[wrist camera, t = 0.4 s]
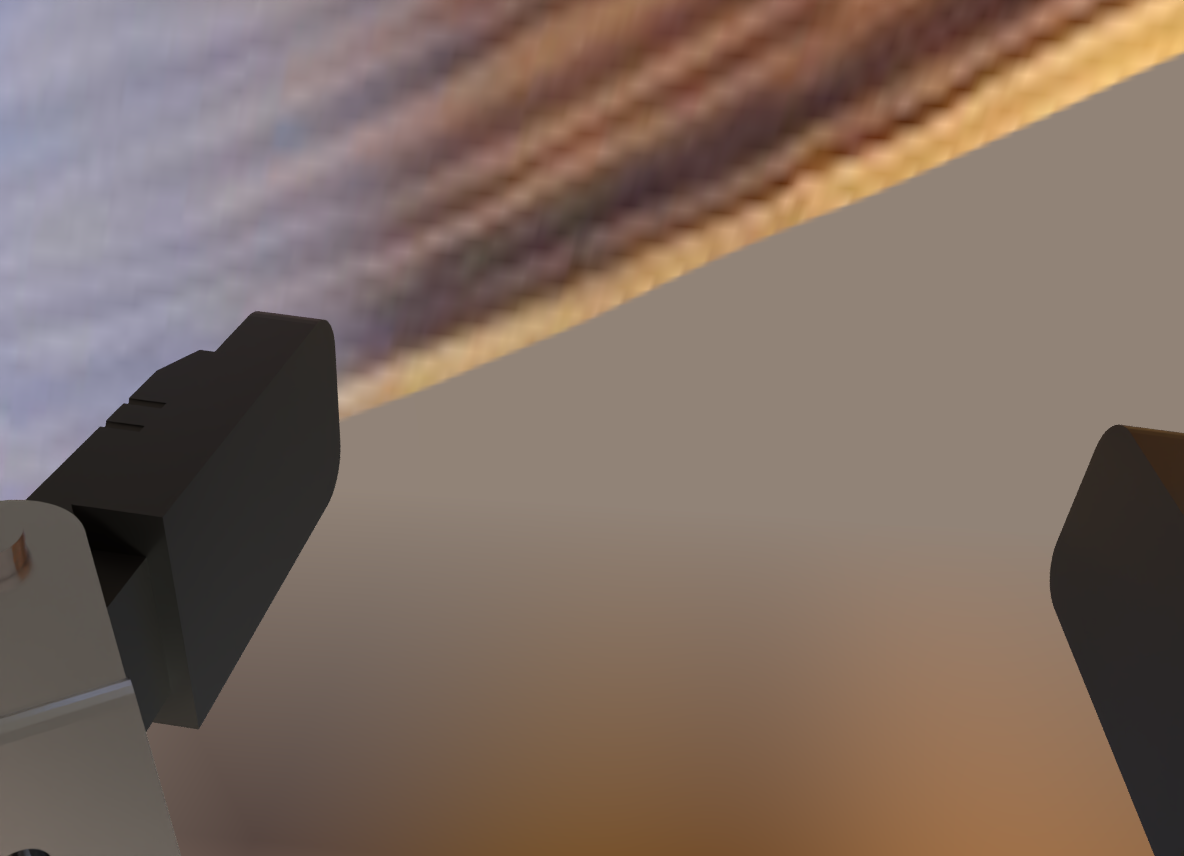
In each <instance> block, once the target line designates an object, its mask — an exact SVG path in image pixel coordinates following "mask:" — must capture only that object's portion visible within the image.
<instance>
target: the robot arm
mask: <svg viewBox="0 0 1184 856" xmlns="http://www.w3.org/2000/svg"><path fill="white" fill-rule="evenodd" d="M339 463H340V429H339V410H338V391H337V372H336V354H335V340H334V334H333V331H332V328H331V325H330V324H329V322H328V321H326V320H322V319H314V318H307V317H299V316H291V315H283V314H276V313H268V312H260V311H255V312H253V313H252V314H250V315H249V316H248V317H247V318H246V319H245V320H244V321H243V322H242V324H241V325H240V326H239V327H238V328H237V329H236V330H235V331H234V332H233V333H232V334H231V335H230V336H229V337H228V338H227V339H226V341H225V342H224V343H223V344H222V345H221V346H220V347H219V348H218V349H217V350H216V351H215V352H212V351H204V350H199V351H197V352H194V353H192V354H190V355H188V356H186V357H184V358H182V359H180V360H178V361H176V362H174V363H172V364H170V365H168V366H166V367H163V368H161V369H159V370H157V371H156V372H155V373H154V374H153V375H152V376H151V377H150V378H149V379H148V380H147V381H146V382H145V383H144V384H143V385H142V386H141V387H140V388H139V389H138V390H137V391H136V392H135V393H134V394H133V395H132V396H131V397H130V398H129V403H128V404H123V405H122V406H120V407H119V408H118V409H117V410H116V411H115V412H114V413H113V414H112V415H111V416H110V417H109V418H108V419H107V420H106V426H105V427H99V428H98V429H97V430H96V431H95V432H94V433H93V434H92V435H91V436H90V437H89V438H88V439H87V440H86V441H85V442H84V443H83V444H82V445H81V446H80V447H79V448H78V449H77V450H76V451H75V452H74V453H73V454H72V455H71V456H70V457H69V458H68V459H67V460H66V461H65V462H64V463H63V464H62V465H61V466H60V467H59V468H58V469H57V470H56V471H55V472H54V473H53V474H52V475H51V476H50V477H49V478H48V479H46V480H45V481H44V482H43V483H42V484H41V485H40V486H39V487H38V488H37V489H36V490H35V491H34V492H33V493H32V494H31V495H30V496H29V497H28V498H27V499H26V500H5V501H0V856H181V854H180V851H179V847H178V844H177V840H176V837H175V833H174V830H173V826H172V823H171V819H170V815H169V812H168V808H167V805H166V802H165V798H164V794H163V791H162V787H161V784H160V780H159V777H158V773H157V770H156V766H155V763H154V759H153V756H152V752H151V748H150V745H149V741H148V738H147V734H146V732H147V729H148V728H149V727H150V725H151V724H152V722H155V723H161V724H168V725H174V726H181V727H187V728H194V729H199V728H200V726H201V725H202V723H203V721H204V719H205V718H206V716H207V714H208V712H209V710H210V709H211V707H212V705H213V704H214V702H215V700H216V698H217V697H218V695H219V693H220V691H221V690H222V687H223V686H224V685H225V683H226V681H227V679H228V677H229V676H230V674H231V672H232V670H233V669H234V667H235V665H236V664H237V662H238V660H239V658H240V657H241V655H242V653H243V651H244V650H245V648H246V646H247V644H248V643H249V641H250V639H251V638H252V636H253V634H254V632H255V631H256V628H257V627H258V625H259V623H260V622H261V620H262V618H263V617H264V615H265V613H266V611H267V610H268V608H269V606H270V604H271V603H272V601H273V599H274V597H275V596H276V594H277V592H278V591H279V589H280V587H281V585H282V583H283V582H284V580H285V578H286V577H287V575H288V573H289V571H290V570H291V568H292V566H293V564H294V563H295V561H296V559H297V557H298V556H299V554H300V552H301V550H302V549H303V547H304V545H305V544H306V542H307V540H308V538H309V536H310V535H311V533H312V531H313V530H314V528H315V526H316V524H317V522H318V521H319V519H320V517H321V516H322V514H323V512H324V510H325V509H326V507H327V505H328V503H329V501H330V499H331V497H332V494H333V491H334V488H335V484H336V480H337V475H338V470H339ZM1050 592H1051V598H1052V603H1053V606H1054V609H1055V611H1056V614H1057V616H1058V619H1059V621H1060V624H1061V626H1062V629H1063V631H1064V633H1065V636H1066V638H1067V641H1068V643H1069V646H1070V648H1071V651H1072V653H1073V656H1074V658H1075V661H1076V663H1077V665H1078V668H1079V670H1080V673H1081V675H1082V678H1083V680H1084V683H1085V685H1086V688H1087V690H1088V693H1089V695H1090V698H1091V700H1092V703H1093V705H1094V707H1095V710H1096V712H1097V715H1098V717H1099V720H1100V722H1101V725H1102V727H1103V730H1104V732H1105V735H1106V737H1107V739H1108V742H1109V744H1110V747H1111V749H1112V752H1113V754H1114V757H1115V759H1116V762H1117V764H1118V767H1119V769H1120V771H1121V774H1122V776H1123V779H1124V781H1125V784H1126V786H1127V789H1128V791H1129V794H1130V796H1131V799H1132V801H1133V804H1134V806H1135V809H1136V811H1137V813H1138V816H1139V818H1140V821H1141V823H1142V826H1143V828H1144V831H1145V833H1146V836H1147V838H1148V841H1149V843H1150V845H1151V848H1152V850H1153V853H1154V855H1155V856H1184V433H1179V432H1171V431H1164V430H1155V429H1148V428H1141V427H1132V426H1125V425H1115V426H1112V427H1111V428H1109V429H1108V430H1107V431H1106V432H1105V433H1104V434H1103V436H1102V437H1101V439H1100V441H1099V443H1098V444H1097V447H1096V449H1095V451H1094V454H1093V456H1092V458H1091V461H1090V463H1089V466H1088V468H1087V471H1086V473H1085V476H1084V478H1083V480H1082V483H1081V485H1080V487H1079V490H1078V492H1077V495H1076V497H1075V499H1074V502H1073V504H1072V507H1071V509H1070V512H1069V514H1068V516H1067V519H1066V521H1065V524H1064V526H1063V529H1062V531H1061V533H1060V536H1059V538H1058V541H1057V543H1056V546H1055V549H1054V552H1053V556H1052V562H1051V569H1050Z"/></svg>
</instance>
